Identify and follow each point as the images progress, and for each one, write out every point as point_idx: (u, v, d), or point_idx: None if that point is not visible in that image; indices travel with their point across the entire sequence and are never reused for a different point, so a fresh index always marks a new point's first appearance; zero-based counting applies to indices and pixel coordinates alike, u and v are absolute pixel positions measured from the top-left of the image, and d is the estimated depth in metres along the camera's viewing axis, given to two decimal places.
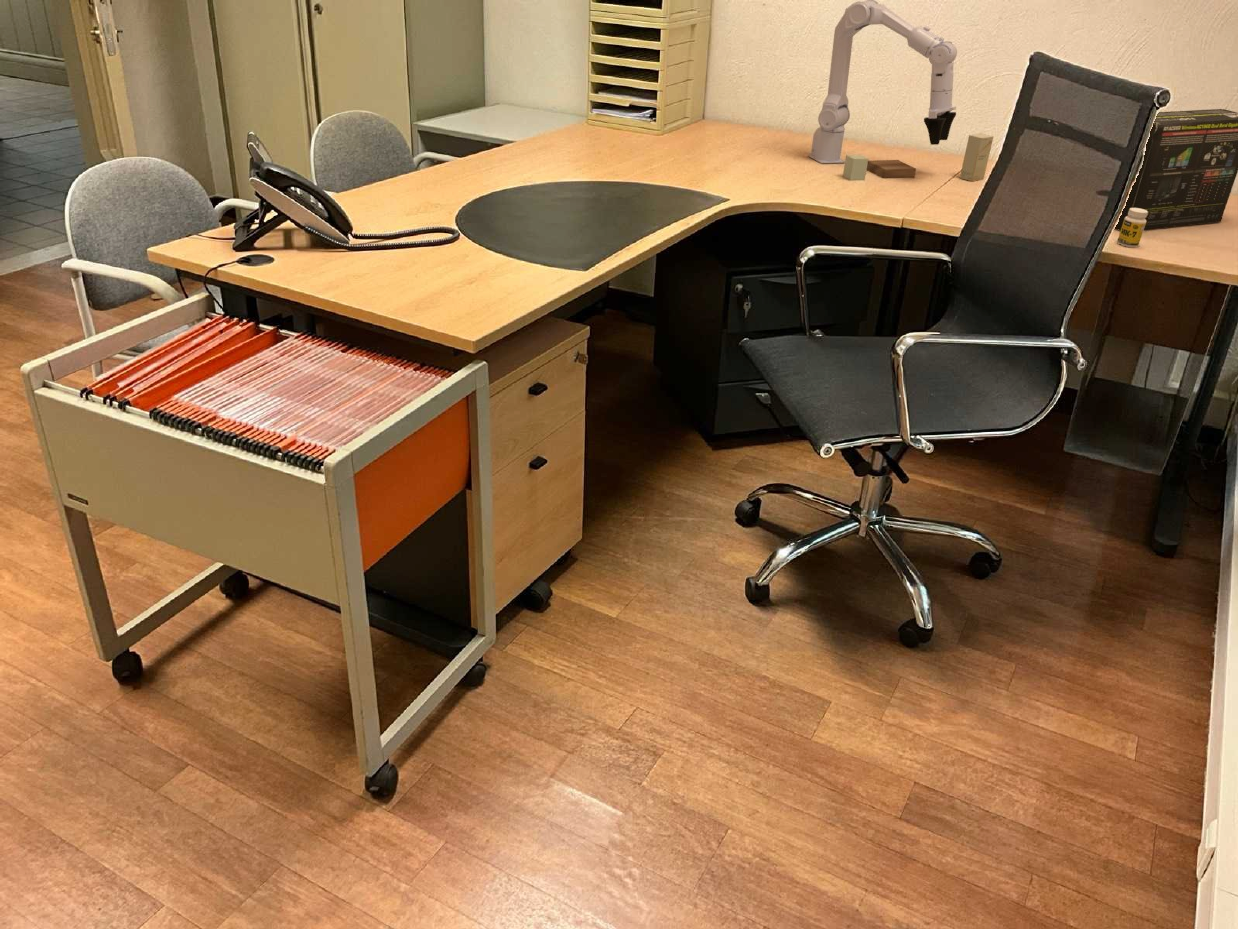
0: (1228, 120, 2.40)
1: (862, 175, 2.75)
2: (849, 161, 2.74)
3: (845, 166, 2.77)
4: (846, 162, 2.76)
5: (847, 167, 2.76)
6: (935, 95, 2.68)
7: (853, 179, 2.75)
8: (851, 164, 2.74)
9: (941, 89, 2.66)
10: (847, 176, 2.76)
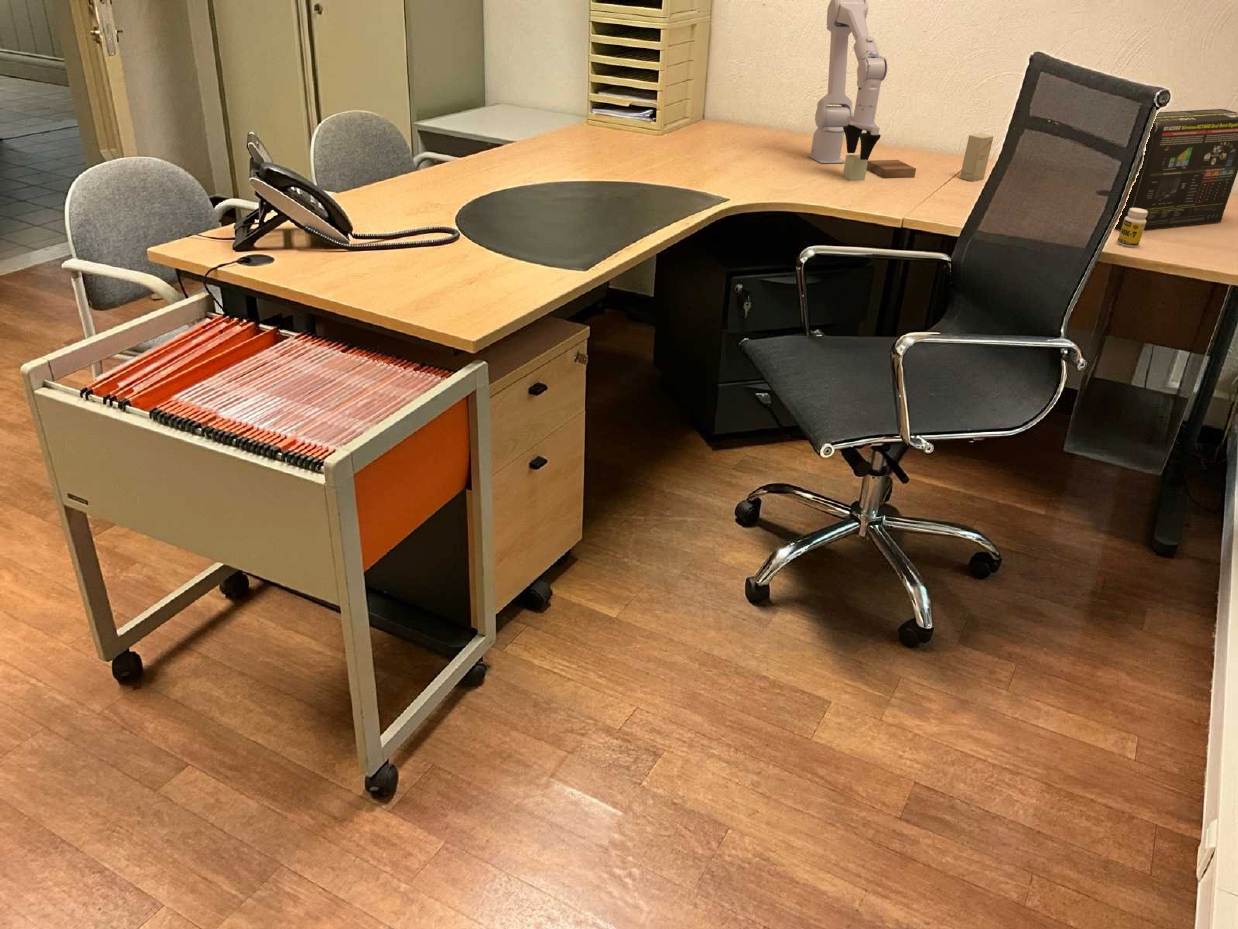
0: (1228, 120, 2.40)
1: (862, 175, 2.75)
2: (849, 161, 2.74)
3: (845, 166, 2.77)
4: (846, 162, 2.76)
5: (847, 167, 2.76)
6: None
7: (853, 179, 2.75)
8: (851, 164, 2.74)
9: (858, 103, 2.66)
10: (847, 176, 2.76)
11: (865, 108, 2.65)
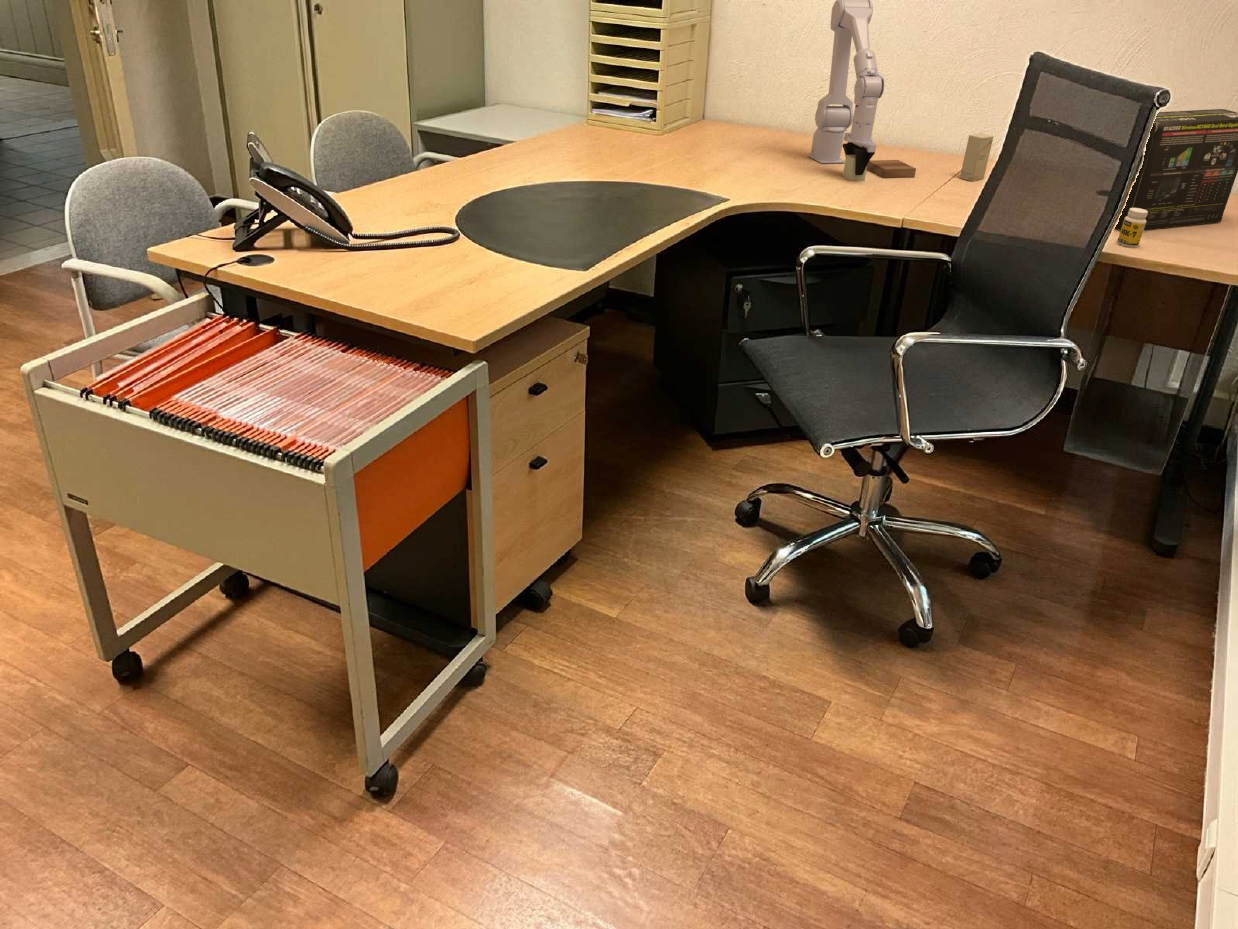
0: (1228, 120, 2.40)
1: (862, 175, 2.75)
2: (849, 161, 2.74)
3: (845, 165, 2.77)
4: (846, 162, 2.76)
5: (847, 167, 2.76)
6: None
7: (853, 179, 2.75)
8: (851, 164, 2.74)
9: (855, 120, 2.68)
10: (847, 176, 2.76)
11: (862, 125, 2.68)
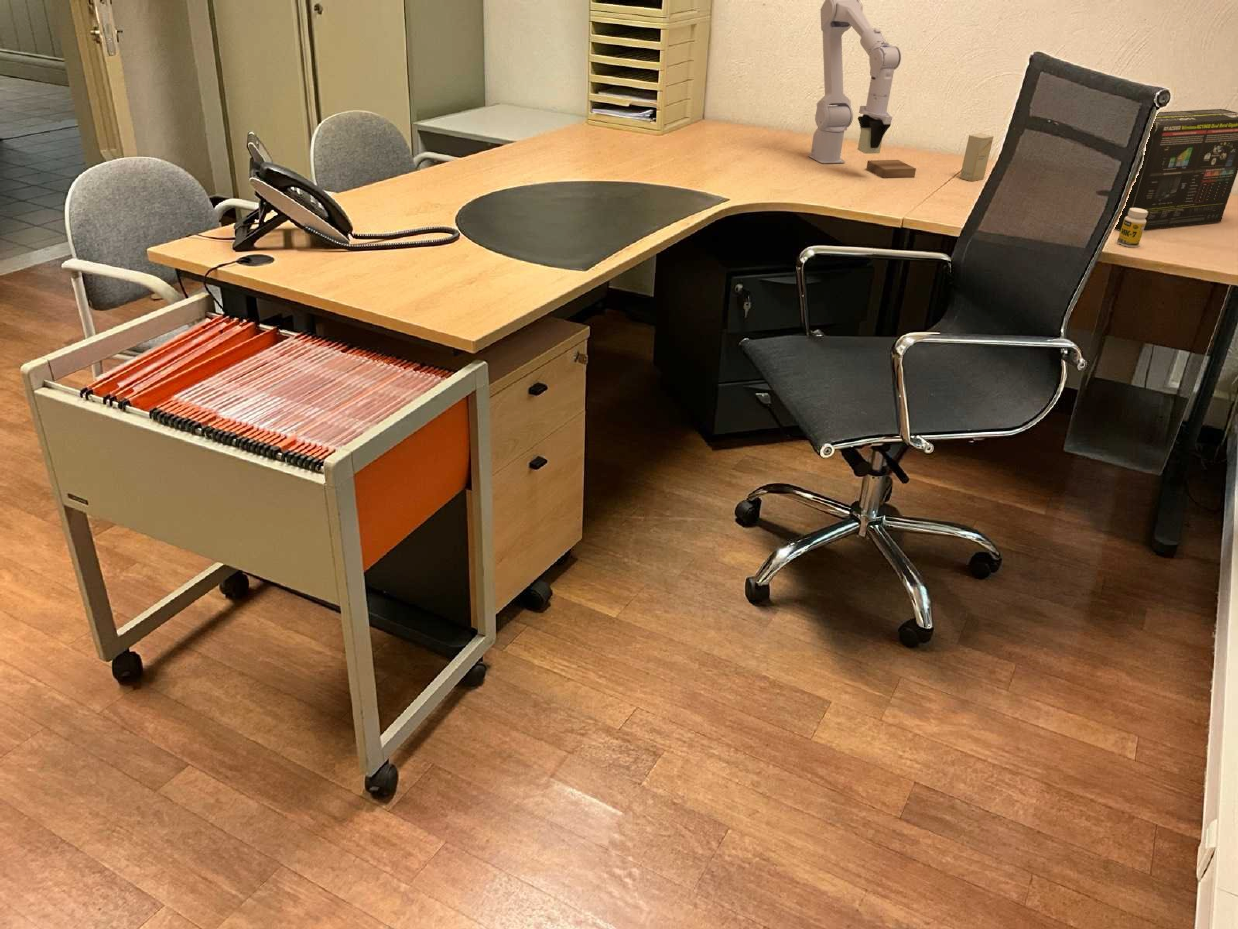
0: (1228, 120, 2.40)
1: (877, 148, 2.74)
2: (864, 134, 2.73)
3: (860, 138, 2.75)
4: (861, 135, 2.74)
5: (862, 140, 2.74)
6: None
7: (868, 152, 2.74)
8: (866, 137, 2.72)
9: (872, 93, 2.66)
10: (862, 149, 2.75)
11: (878, 97, 2.66)
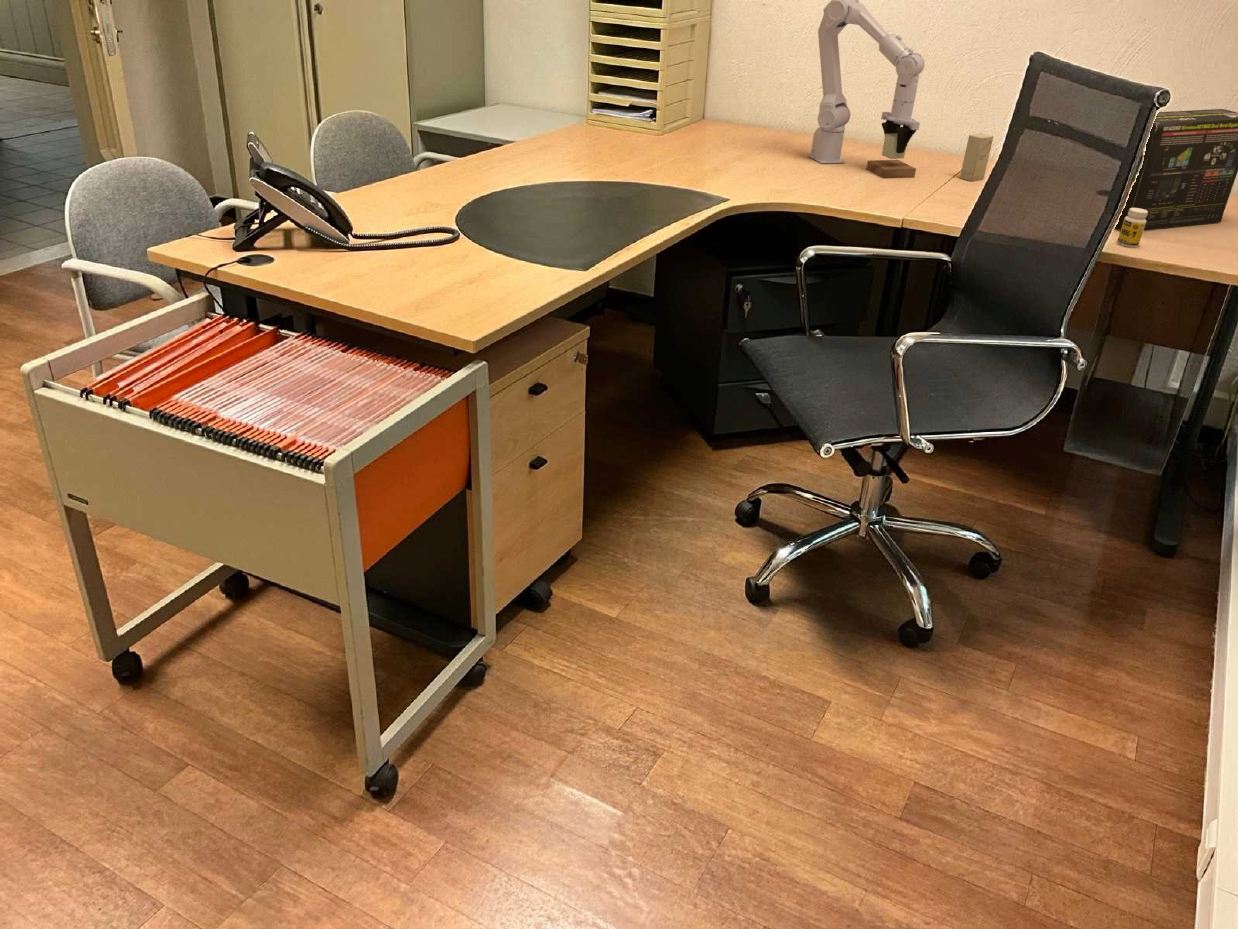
0: (1228, 120, 2.40)
1: (902, 153, 2.80)
2: (890, 140, 2.79)
3: (885, 144, 2.81)
4: (886, 141, 2.80)
5: (887, 145, 2.80)
6: None
7: (894, 157, 2.80)
8: (892, 142, 2.78)
9: (903, 100, 2.72)
10: (888, 155, 2.80)
11: (904, 104, 2.72)
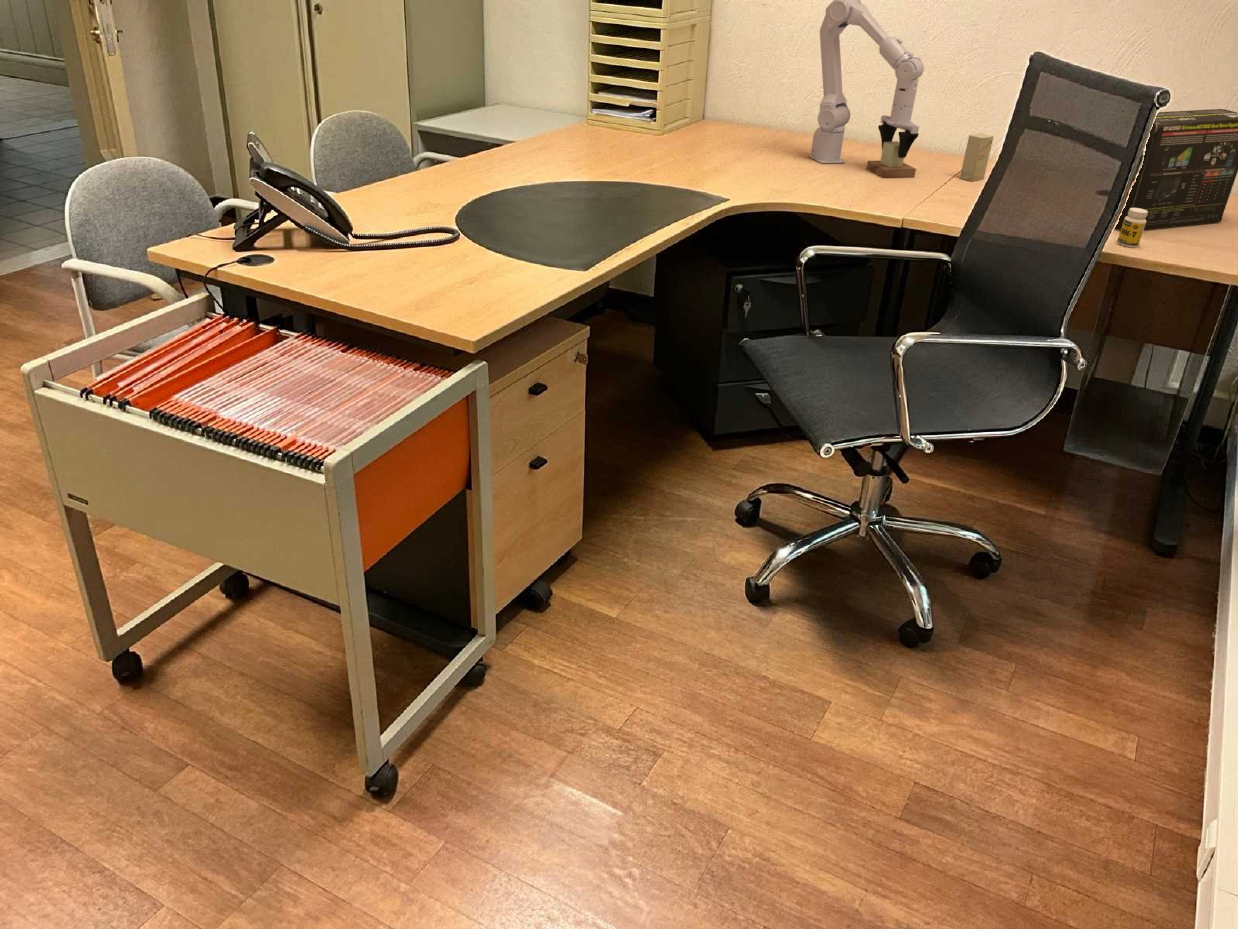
0: (1228, 120, 2.40)
1: (900, 161, 2.81)
2: (888, 148, 2.80)
3: (883, 152, 2.82)
4: (884, 149, 2.81)
5: (885, 154, 2.81)
6: None
7: (892, 165, 2.81)
8: (890, 151, 2.79)
9: (902, 104, 2.72)
10: (886, 163, 2.82)
11: (904, 108, 2.73)
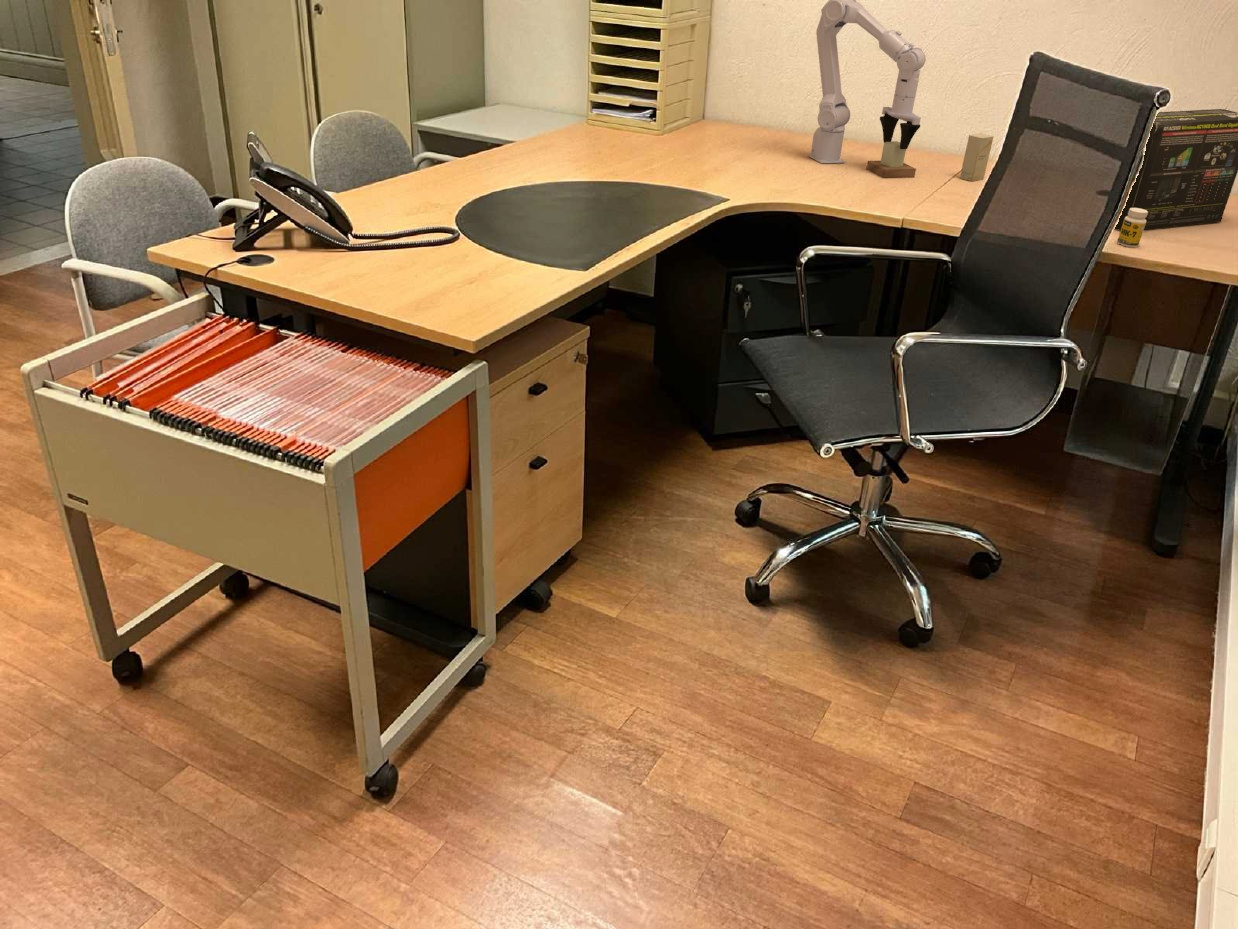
0: (1228, 120, 2.40)
1: (901, 161, 2.81)
2: (889, 148, 2.80)
3: (884, 152, 2.82)
4: (884, 149, 2.81)
5: (886, 154, 2.81)
6: None
7: (893, 165, 2.81)
8: (891, 151, 2.79)
9: (904, 95, 2.71)
10: (887, 163, 2.81)
11: (905, 99, 2.71)
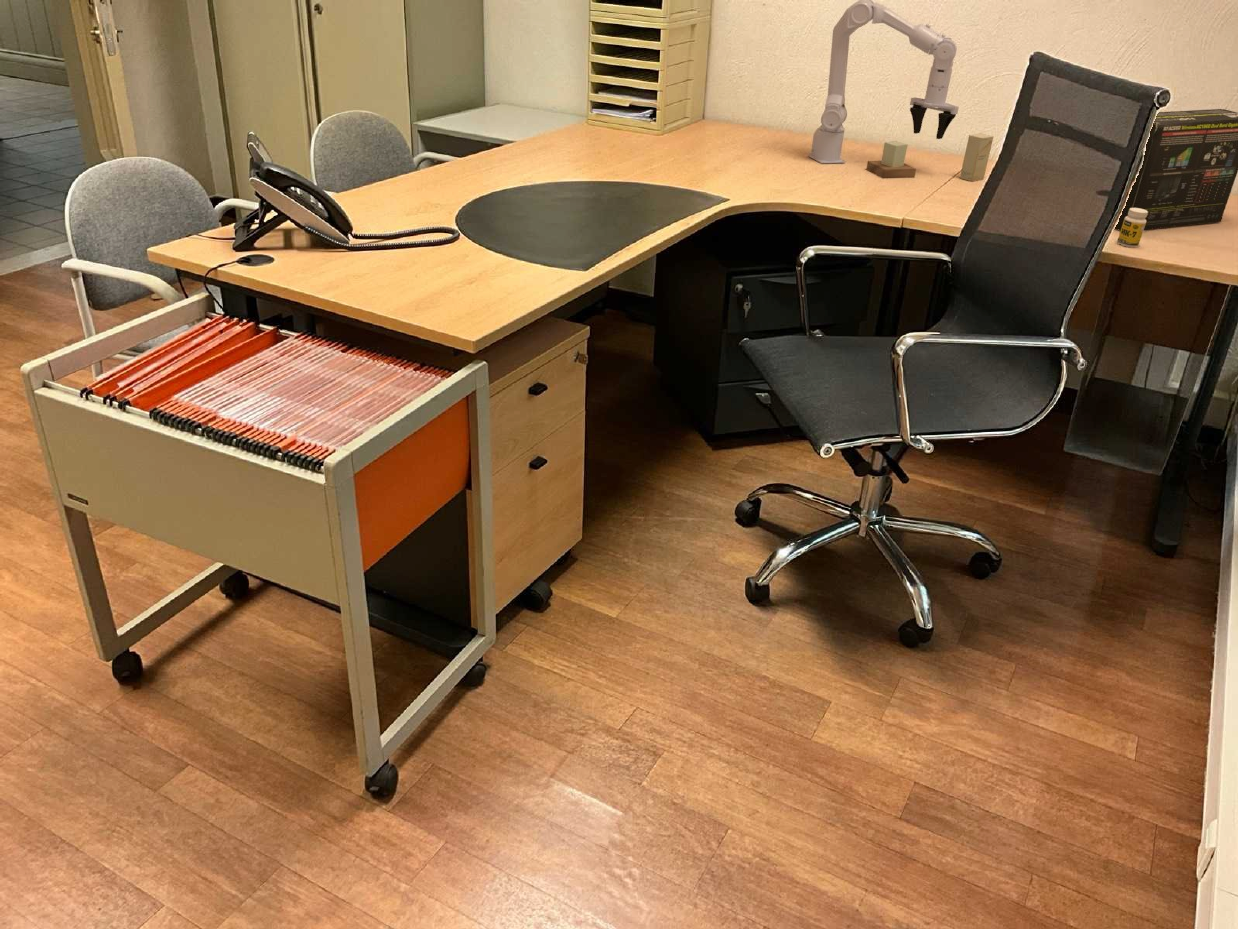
0: (1228, 120, 2.40)
1: (902, 161, 2.82)
2: (890, 148, 2.80)
3: (884, 153, 2.82)
4: (885, 149, 2.81)
5: (887, 154, 2.81)
6: None
7: (894, 165, 2.81)
8: (893, 151, 2.79)
9: (940, 85, 2.72)
10: (888, 163, 2.81)
11: (942, 89, 2.73)
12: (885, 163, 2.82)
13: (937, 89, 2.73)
